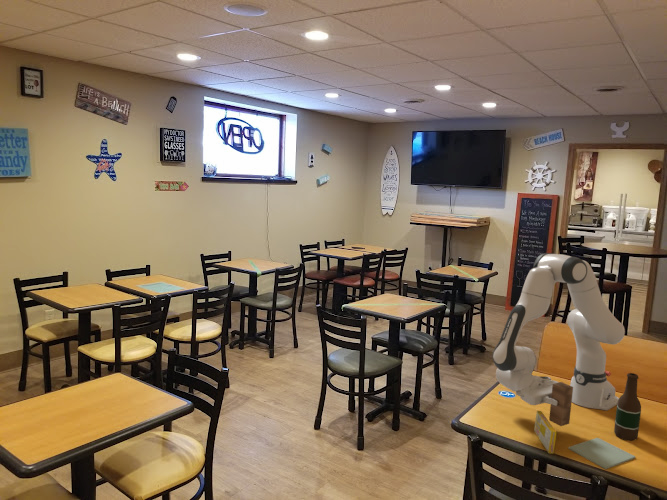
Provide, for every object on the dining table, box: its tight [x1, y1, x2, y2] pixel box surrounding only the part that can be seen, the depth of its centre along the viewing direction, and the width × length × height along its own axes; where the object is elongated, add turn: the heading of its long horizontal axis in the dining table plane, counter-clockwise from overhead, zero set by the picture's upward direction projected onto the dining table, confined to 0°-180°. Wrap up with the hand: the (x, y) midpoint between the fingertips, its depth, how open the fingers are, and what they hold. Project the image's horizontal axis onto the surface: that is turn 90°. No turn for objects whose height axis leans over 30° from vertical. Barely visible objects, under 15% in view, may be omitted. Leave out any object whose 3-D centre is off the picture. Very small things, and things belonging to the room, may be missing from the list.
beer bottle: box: [613, 372, 642, 442], centre depth 186 cm, size 8×8×24 cm
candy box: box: [533, 410, 557, 455], centre depth 181 cm, size 16×2×8 cm, turn 176°
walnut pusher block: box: [548, 381, 573, 427], centre depth 184 cm, size 4×5×14 cm
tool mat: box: [568, 437, 636, 470], centre depth 175 cm, size 16×14×1 cm
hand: (563, 402), depth 183 cm, fingers closed on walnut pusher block, 4 cm apart
